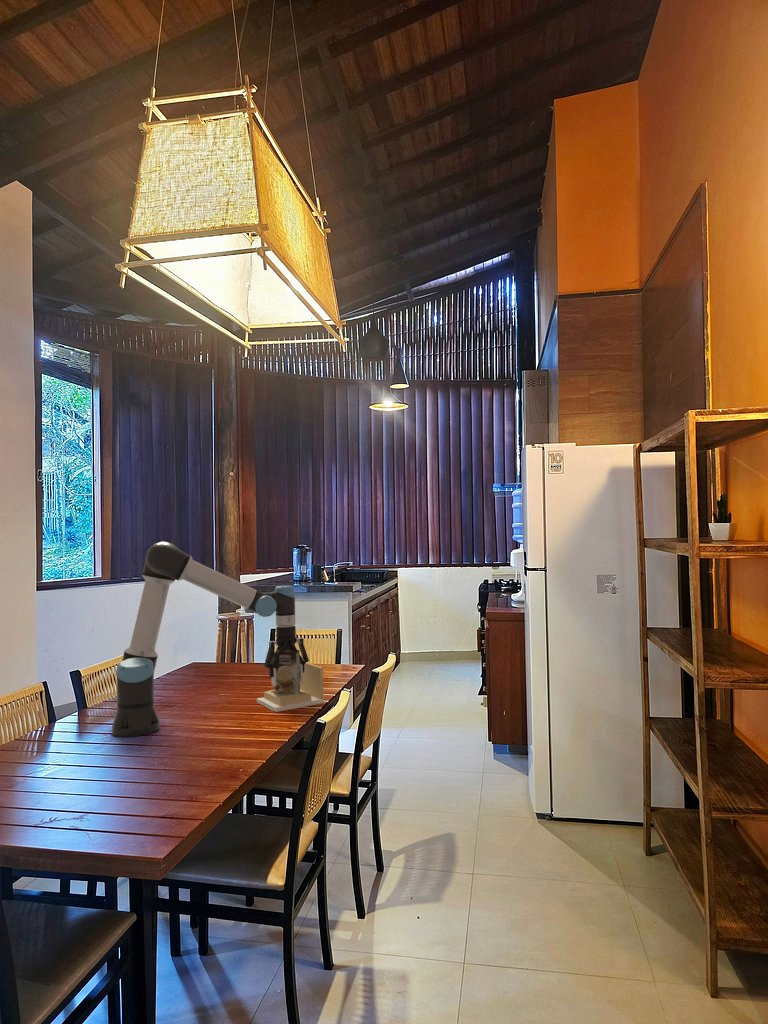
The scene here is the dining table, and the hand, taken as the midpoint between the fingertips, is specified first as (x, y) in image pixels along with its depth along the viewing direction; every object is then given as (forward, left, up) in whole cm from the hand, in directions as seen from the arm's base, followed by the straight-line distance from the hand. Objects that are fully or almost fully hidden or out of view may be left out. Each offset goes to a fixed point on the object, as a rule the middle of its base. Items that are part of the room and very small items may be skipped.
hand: (287, 683), depth 251 cm
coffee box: (0, 0, -4) cm, 4 cm away
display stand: (0, 0, -8) cm, 8 cm away
